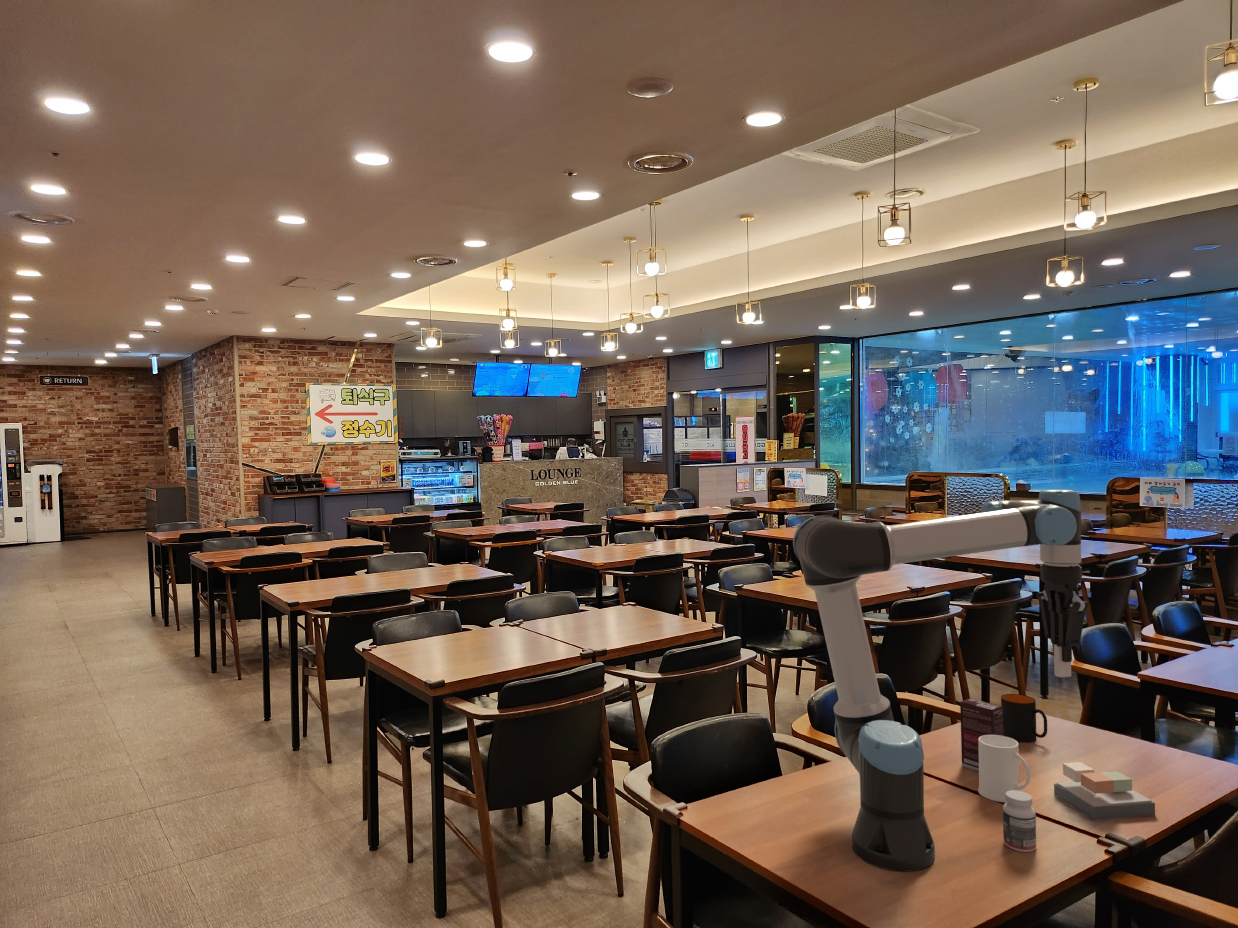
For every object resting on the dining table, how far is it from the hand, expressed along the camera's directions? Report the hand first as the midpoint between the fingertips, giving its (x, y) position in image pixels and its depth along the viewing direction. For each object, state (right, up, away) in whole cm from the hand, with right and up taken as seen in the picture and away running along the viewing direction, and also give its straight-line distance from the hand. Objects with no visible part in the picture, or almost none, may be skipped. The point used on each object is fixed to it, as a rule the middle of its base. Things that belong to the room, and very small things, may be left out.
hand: (1062, 675), depth 162 cm
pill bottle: (-15, -30, -12) cm, 36 cm away
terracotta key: (+8, -24, +1) cm, 26 cm away
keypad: (+11, -29, +5) cm, 32 cm away
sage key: (+14, -25, +5) cm, 30 cm away
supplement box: (-5, -30, +25) cm, 39 cm away
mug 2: (-7, -30, +9) cm, 32 cm away
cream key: (+7, -24, +7) cm, 26 cm away
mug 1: (+15, -29, +43) cm, 54 cm away
